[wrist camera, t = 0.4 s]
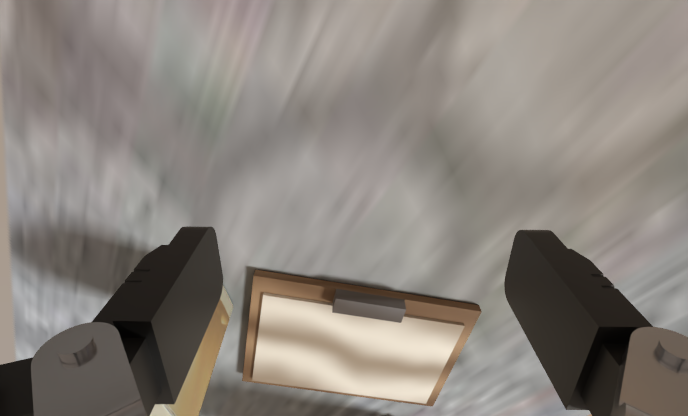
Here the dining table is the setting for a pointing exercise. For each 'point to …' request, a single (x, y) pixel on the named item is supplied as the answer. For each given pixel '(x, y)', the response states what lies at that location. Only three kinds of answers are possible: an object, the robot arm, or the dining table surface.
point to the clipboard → (352, 338)
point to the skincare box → (200, 365)
